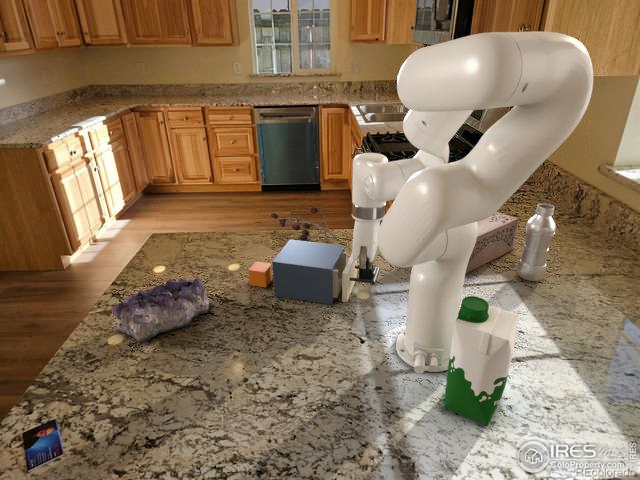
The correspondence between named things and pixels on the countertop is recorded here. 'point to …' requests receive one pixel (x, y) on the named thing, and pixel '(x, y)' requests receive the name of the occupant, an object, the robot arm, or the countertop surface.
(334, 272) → the cabinet drawer
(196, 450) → the countertop surface
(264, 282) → the orange foam cube
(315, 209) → the decorative branch
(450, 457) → the countertop surface
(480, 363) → the milk carton
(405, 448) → the countertop surface
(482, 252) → the tissue box cover
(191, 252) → the countertop surface
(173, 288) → the geode
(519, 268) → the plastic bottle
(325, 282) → the blue cabinet body
